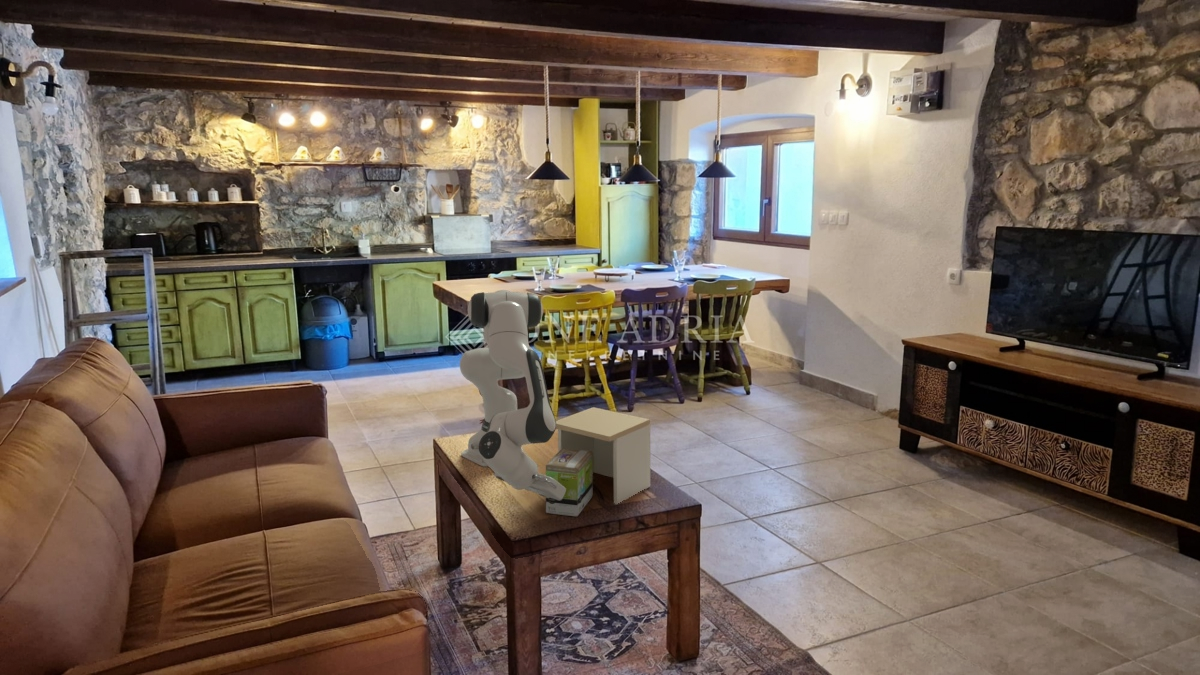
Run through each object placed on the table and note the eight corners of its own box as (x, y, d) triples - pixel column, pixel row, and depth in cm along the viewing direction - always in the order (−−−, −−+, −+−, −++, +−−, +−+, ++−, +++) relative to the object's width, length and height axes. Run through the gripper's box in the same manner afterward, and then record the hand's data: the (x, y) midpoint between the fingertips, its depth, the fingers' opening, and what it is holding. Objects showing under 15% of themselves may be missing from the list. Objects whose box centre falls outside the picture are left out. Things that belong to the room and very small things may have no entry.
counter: (552, 489, 232) (551, 422, 228) (593, 470, 248) (592, 407, 244) (610, 508, 219) (610, 436, 214) (650, 486, 234) (650, 419, 230)
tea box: (579, 517, 213) (578, 467, 210) (545, 513, 215) (543, 464, 212) (593, 496, 227) (593, 449, 224) (561, 493, 229) (560, 446, 227)
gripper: (555, 470, 199) (579, 493, 208) (500, 454, 211) (525, 476, 221) (544, 491, 196) (569, 514, 206) (489, 474, 209) (515, 496, 218)
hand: (546, 494), depth 213 cm, fingers closed
